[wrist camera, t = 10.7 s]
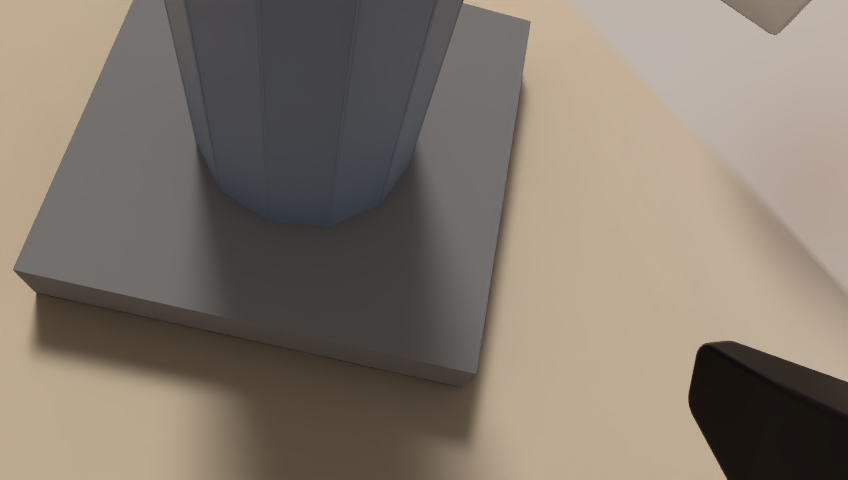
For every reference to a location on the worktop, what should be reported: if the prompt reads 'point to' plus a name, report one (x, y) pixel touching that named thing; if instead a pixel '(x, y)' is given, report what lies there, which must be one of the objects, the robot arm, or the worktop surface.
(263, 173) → the domed octagonal peg
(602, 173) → the worktop surface
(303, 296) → the rubber mat
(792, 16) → the ink cartridge box
